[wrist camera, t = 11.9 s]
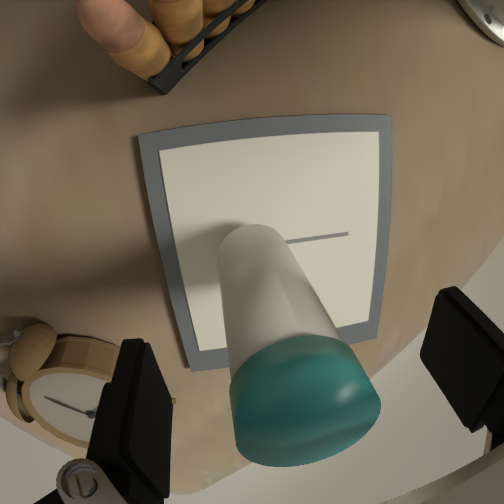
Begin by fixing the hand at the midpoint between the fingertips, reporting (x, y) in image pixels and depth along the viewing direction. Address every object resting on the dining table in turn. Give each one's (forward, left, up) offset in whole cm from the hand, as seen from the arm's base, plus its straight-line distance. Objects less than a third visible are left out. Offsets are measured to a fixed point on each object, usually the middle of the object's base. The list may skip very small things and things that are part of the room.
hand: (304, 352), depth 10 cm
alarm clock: (+15, +10, -11) cm, 21 cm away
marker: (0, +1, -10) cm, 9 cm away
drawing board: (-1, +2, -10) cm, 10 cm away
